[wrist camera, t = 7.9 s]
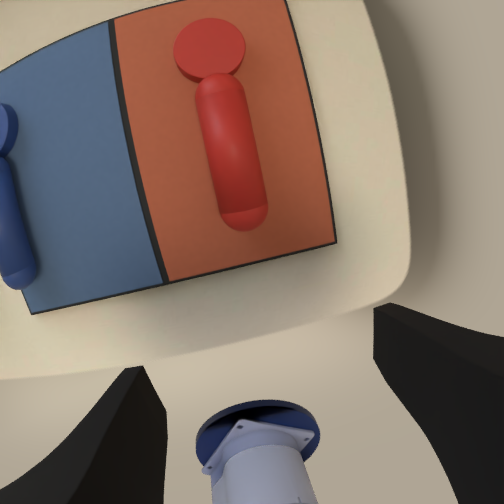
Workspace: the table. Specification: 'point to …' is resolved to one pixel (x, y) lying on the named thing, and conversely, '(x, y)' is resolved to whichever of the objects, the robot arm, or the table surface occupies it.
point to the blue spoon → (12, 214)
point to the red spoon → (224, 118)
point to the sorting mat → (156, 155)
